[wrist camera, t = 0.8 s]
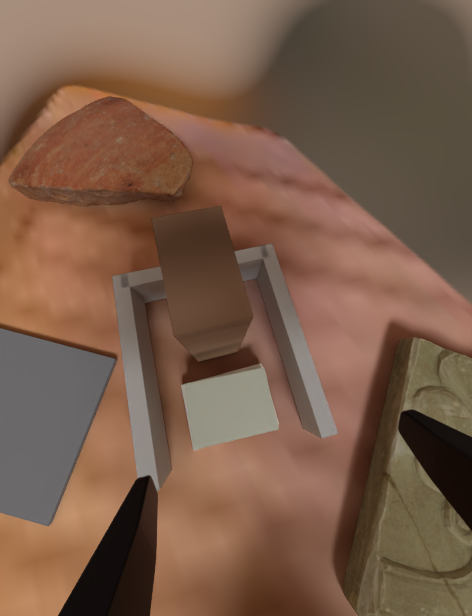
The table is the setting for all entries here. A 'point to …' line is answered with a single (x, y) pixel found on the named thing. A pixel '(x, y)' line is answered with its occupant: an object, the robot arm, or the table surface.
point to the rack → (141, 367)
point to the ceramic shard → (104, 158)
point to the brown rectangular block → (202, 282)
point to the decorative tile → (413, 499)
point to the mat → (44, 419)
